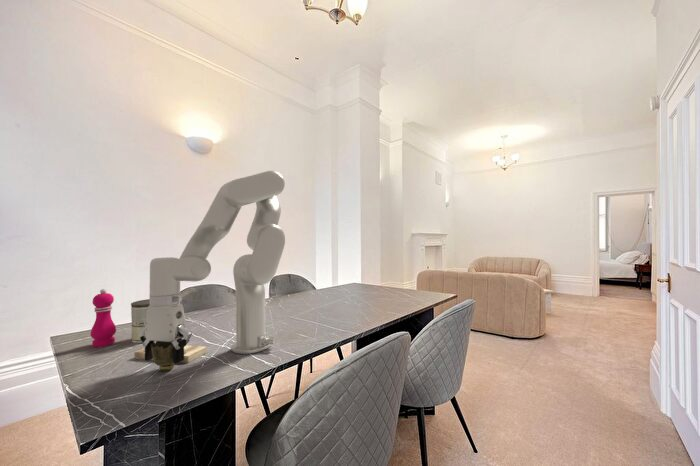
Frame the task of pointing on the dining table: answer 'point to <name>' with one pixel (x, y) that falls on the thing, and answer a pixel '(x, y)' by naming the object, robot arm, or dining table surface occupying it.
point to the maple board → (189, 353)
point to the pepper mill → (103, 320)
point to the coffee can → (138, 318)
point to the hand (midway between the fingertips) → (164, 360)
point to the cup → (163, 355)
